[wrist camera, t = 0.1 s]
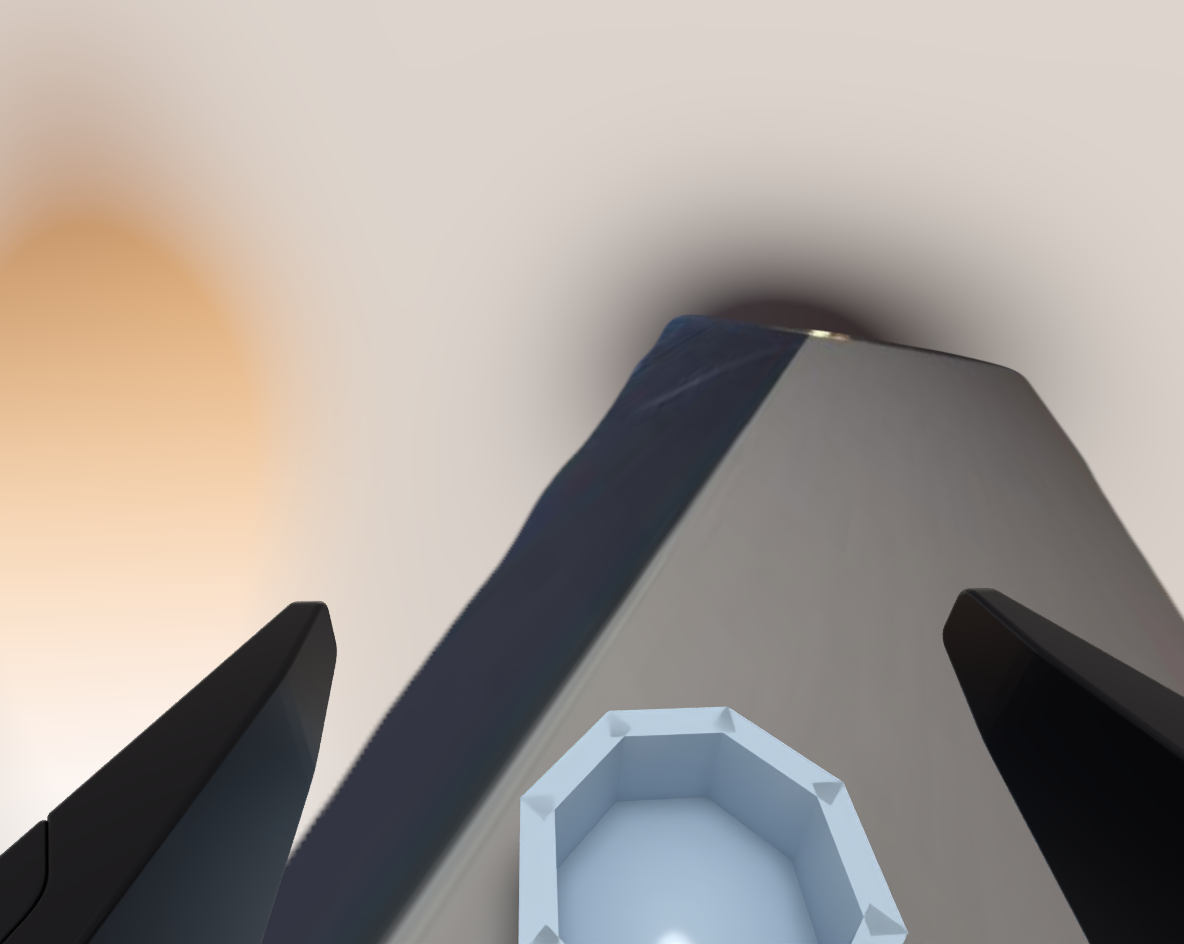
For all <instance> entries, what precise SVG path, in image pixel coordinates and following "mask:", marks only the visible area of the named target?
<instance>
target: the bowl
mask: <svg viewBox="0 0 1184 944" xmlns="http://www.w3.org/2000/svg"><path fill="white" fill-rule="evenodd" d="M907 935H908V931H907V930H906V927H905V925H904V923H903V920H902V918H901V916H900V913H899V911H898V909H897V906H896V904H895V902H894V899H893V897H892V895H891V892H890V890H889V888H888V885H887V883H886V881H885V878H884V876H883V874H882V871H881V869H880V867H879V864H878V862H877V860H876V857H875V855H874V853H873V850H872V848H871V846H870V844H869V841H868V839H867V837H866V834H865V832H864V830H863V827H862V825H861V823H860V820H859V818H858V816H857V813H856V811H855V809H854V806H853V804H852V802H851V799H850V797H849V795H848V792H847V790H846V788H845V785H844V783H843V781H840V780H839V779H837V778H836V777H834V776H833V775H831V774H830V773H828V772H827V771H825V770H823V769H822V768H820V767H819V766H817V765H816V764H814V763H813V762H811V761H810V760H808V759H807V758H805V757H804V756H802V755H801V754H799V753H797V752H796V751H794V750H793V749H791V748H790V747H788V746H787V745H785V744H784V743H782V742H781V741H779V740H778V739H776V738H775V737H773V736H771V735H770V734H768V733H767V732H765V731H764V730H762V729H761V728H759V727H758V726H756V725H755V724H753V723H752V722H750V721H749V720H747V719H745V718H744V717H742V716H741V715H739V714H738V713H736V712H735V711H733V710H732V709H730V708H729V707H708V708H680V709H652V710H624V711H608V712H607V713H606V714H605V715H604V716H603V717H602V718H601V719H600V720H599V721H598V722H597V723H596V724H595V725H594V726H593V727H592V728H591V729H590V730H589V731H588V732H587V733H586V734H585V735H584V736H583V737H582V738H581V739H580V740H579V741H578V742H577V743H576V744H575V745H574V746H573V747H572V748H571V749H569V750H568V751H567V752H566V753H565V754H564V755H563V756H562V757H561V758H560V759H559V760H558V761H557V762H556V763H555V764H554V765H553V766H552V767H551V768H550V769H549V770H548V771H547V772H546V773H545V774H544V775H543V776H542V777H541V778H540V779H539V780H538V781H537V782H536V783H535V784H534V785H533V786H532V787H531V788H530V789H529V790H528V791H527V792H526V793H525V794H524V795H523V796H522V797H520V873H519V944H903V942H904V940H905V938H906V936H907Z"/></svg>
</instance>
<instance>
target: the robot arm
mask: <svg viewBox="0 0 1184 944" xmlns="http://www.w3.org/2000/svg"><path fill="white" fill-rule="evenodd" d="M943 642H944V646H945V649H946V651H947V654H948V656H949V659H950V661H951V664H952V666H953V668H954V671H955V673H956V676H957V678H958V681H959V683H960V686H961V688H962V691H963V693H964V696H965V698H966V700H967V703H968V705H969V708H970V710H971V713H972V715H973V718H974V720H975V723H976V725H977V727H978V730H979V732H980V734H981V736H982V739H983V741H984V743H985V745H986V747H987V749H988V751H989V753H990V755H991V757H992V759H993V761H994V763H995V765H996V767H997V769H998V771H999V773H1000V774H1001V776H1002V778H1003V780H1004V782H1005V784H1006V786H1007V788H1008V790H1009V792H1010V794H1011V795H1012V797H1013V799H1014V801H1015V803H1016V805H1017V807H1018V809H1019V811H1020V813H1021V814H1022V816H1023V818H1024V820H1025V822H1026V824H1027V826H1028V828H1029V830H1030V832H1031V833H1032V835H1033V837H1034V839H1035V841H1036V843H1037V845H1038V847H1039V849H1040V851H1041V853H1042V854H1043V856H1044V858H1045V860H1046V862H1047V864H1048V866H1049V868H1050V870H1051V872H1052V873H1053V875H1054V877H1055V879H1056V881H1057V883H1058V885H1059V887H1060V889H1061V891H1062V893H1063V894H1064V896H1065V898H1066V900H1067V902H1068V904H1069V906H1070V908H1071V910H1072V912H1073V913H1074V915H1075V917H1076V919H1077V921H1078V923H1079V925H1080V927H1081V929H1082V931H1083V933H1084V934H1085V936H1086V938H1087V940H1088V942H1089V944H1184V697H1183V696H1181V695H1180V694H1178V693H1176V692H1174V691H1173V690H1171V689H1169V688H1167V687H1166V686H1164V685H1162V684H1160V683H1159V682H1157V681H1155V680H1153V679H1152V678H1150V677H1148V676H1146V675H1145V674H1143V673H1141V672H1139V671H1138V670H1136V669H1134V668H1132V667H1131V666H1129V665H1127V664H1125V663H1123V662H1122V661H1120V660H1118V659H1116V658H1115V657H1113V656H1111V655H1109V654H1108V653H1106V652H1104V651H1102V650H1101V649H1099V648H1097V647H1095V646H1094V645H1092V644H1090V643H1088V642H1087V641H1085V640H1083V639H1081V638H1080V637H1078V636H1076V635H1074V634H1073V633H1071V632H1069V631H1067V630H1066V629H1064V628H1062V627H1060V626H1059V625H1057V624H1055V623H1053V622H1052V621H1050V620H1048V619H1046V618H1045V617H1043V616H1041V615H1039V614H1038V613H1036V612H1034V611H1032V610H1031V609H1029V608H1027V607H1025V606H1024V605H1022V604H1020V603H1018V602H1016V601H1015V600H1013V599H1011V598H1009V597H1008V596H1006V595H1004V594H1002V593H1001V592H999V591H997V590H995V589H990V588H973V589H965V590H963V591H962V592H961V593H960V594H959V596H958V597H957V600H956V602H955V604H954V606H953V608H952V610H951V613H950V615H949V617H948V619H947V621H946V623H945V626H944V628H943ZM336 656H337V647H336V641H335V636H334V632H333V628H332V623H331V619H330V614H329V610H328V607H327V605H326V604H325V603H324V602H322V601H297V602H293V603H291V604H289V606H287V607H286V608H285V609H283V610H282V611H281V612H280V613H279V614H278V615H277V616H276V617H274V618H273V619H272V620H271V621H270V622H268V623H267V624H266V625H265V626H264V627H263V628H262V629H260V630H259V631H258V632H257V633H256V634H255V635H254V636H252V637H251V638H250V639H249V640H248V641H247V642H246V643H245V644H243V645H242V646H241V647H240V648H239V649H238V650H236V651H235V652H234V653H233V654H232V655H231V656H229V657H228V658H227V659H226V660H225V661H224V662H223V663H221V664H220V665H219V666H218V667H217V668H216V669H214V670H213V671H212V672H211V673H210V674H209V675H208V676H207V677H205V678H204V679H203V680H202V681H201V682H200V683H199V684H197V685H196V686H195V687H194V688H193V689H192V690H190V691H189V692H188V693H187V694H186V695H185V696H183V697H182V698H181V699H180V700H179V701H178V702H177V703H175V705H173V706H172V707H171V708H170V709H169V710H167V711H166V712H165V713H164V714H163V715H162V716H161V717H159V718H158V719H157V720H156V721H155V722H154V723H152V724H151V725H150V726H149V727H148V728H147V729H146V730H144V731H143V732H142V733H141V734H140V735H139V736H137V738H135V739H134V740H133V741H132V742H131V743H130V744H128V745H127V746H126V747H125V748H124V749H123V750H121V751H120V752H119V753H118V754H117V755H116V756H114V757H113V758H112V759H111V760H110V761H109V762H108V763H107V764H105V765H104V766H103V767H102V768H101V769H100V770H98V771H97V772H96V773H95V774H94V775H93V776H92V777H90V778H89V779H88V780H87V781H86V782H85V783H84V784H82V785H81V786H80V787H79V788H78V789H77V790H75V791H74V792H73V793H72V794H71V795H70V796H69V797H67V798H66V799H65V800H64V801H63V802H62V803H61V804H59V805H58V806H57V807H56V808H55V809H54V810H53V811H51V812H50V813H49V815H48V817H47V821H46V820H42V821H40V822H38V823H37V824H36V825H35V826H34V827H33V828H31V829H30V830H29V831H28V832H27V833H26V834H25V835H24V836H22V837H21V838H20V839H19V840H18V841H17V842H15V843H14V844H13V845H12V846H11V847H10V848H9V849H7V850H6V851H5V852H4V853H3V854H1V855H0V944H261V943H262V939H263V936H264V933H265V930H266V927H267V923H268V920H269V917H270V914H271V911H272V907H273V904H274V901H275V898H276V895H277V891H278V888H279V885H280V882H281V879H282V875H283V872H284V869H285V866H286V862H287V859H288V856H289V853H290V850H291V846H292V843H293V840H294V836H295V834H296V830H297V827H298V824H299V821H300V818H301V814H302V811H303V808H304V805H305V802H306V798H307V795H308V792H309V789H310V785H311V782H312V778H313V774H314V771H315V767H316V762H317V758H318V753H319V748H320V743H321V737H322V732H323V727H324V721H325V716H326V710H327V706H328V700H329V695H330V690H331V684H332V680H333V675H334V669H335V664H336Z"/></svg>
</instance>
